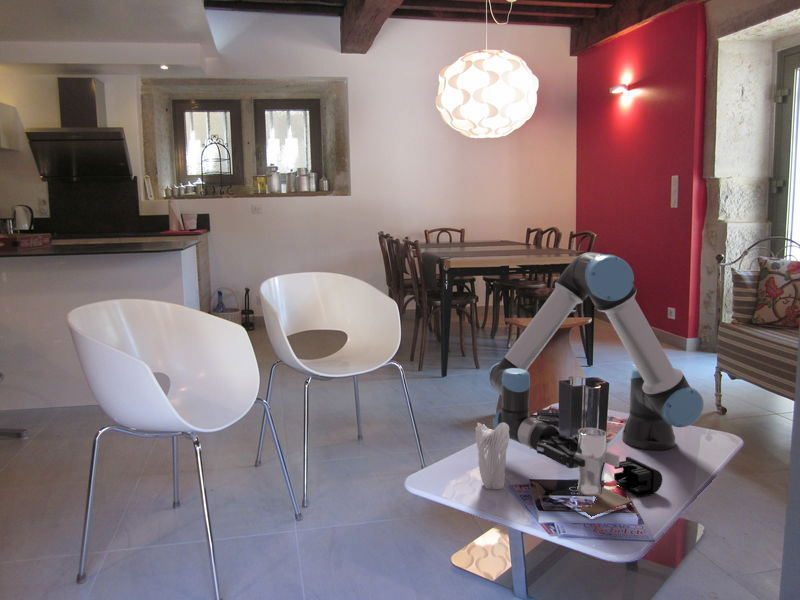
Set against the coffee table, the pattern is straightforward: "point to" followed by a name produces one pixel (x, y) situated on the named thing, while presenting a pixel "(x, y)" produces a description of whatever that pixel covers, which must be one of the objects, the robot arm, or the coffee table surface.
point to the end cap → (638, 478)
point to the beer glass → (594, 448)
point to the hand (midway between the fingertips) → (607, 464)
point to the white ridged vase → (492, 454)
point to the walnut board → (605, 503)
